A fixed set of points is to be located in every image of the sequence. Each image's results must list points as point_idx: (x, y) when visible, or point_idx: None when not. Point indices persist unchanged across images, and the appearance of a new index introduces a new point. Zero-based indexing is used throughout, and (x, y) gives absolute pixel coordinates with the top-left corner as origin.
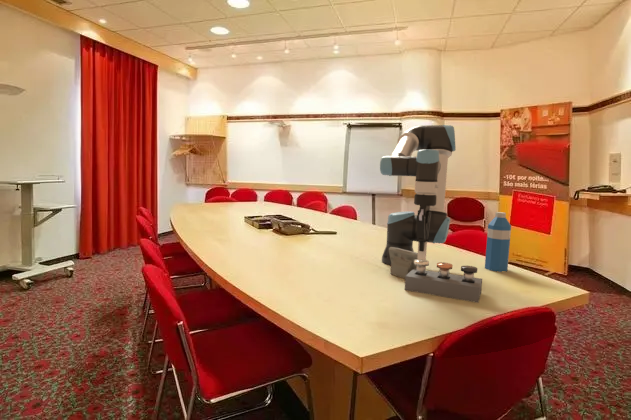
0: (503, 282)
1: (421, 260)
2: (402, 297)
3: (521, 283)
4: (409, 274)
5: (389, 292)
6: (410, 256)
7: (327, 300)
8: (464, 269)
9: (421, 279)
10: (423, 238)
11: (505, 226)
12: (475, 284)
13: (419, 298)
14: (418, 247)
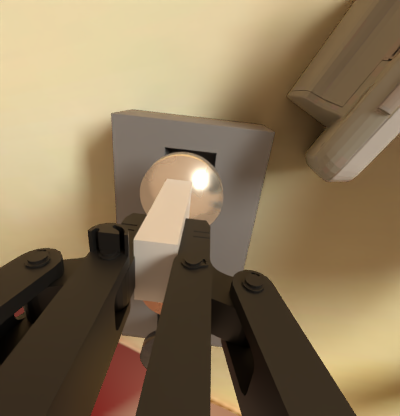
0: (344, 359)
1: (197, 196)
2: (44, 115)
3: (346, 385)
4: (150, 127)
5: (65, 54)
6: (353, 108)
7: None
8: (144, 344)
9: (116, 183)
10: (16, 325)
11: None
12: (148, 329)
13: (73, 170)
14: (148, 215)
